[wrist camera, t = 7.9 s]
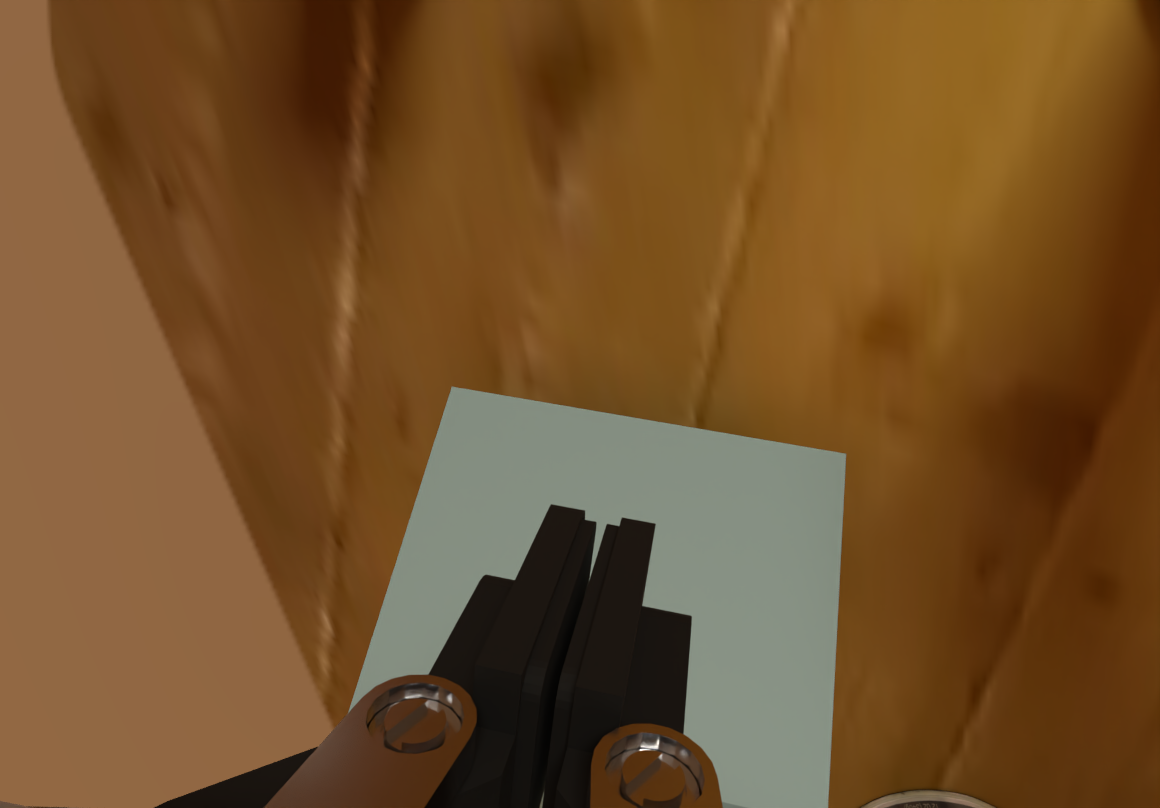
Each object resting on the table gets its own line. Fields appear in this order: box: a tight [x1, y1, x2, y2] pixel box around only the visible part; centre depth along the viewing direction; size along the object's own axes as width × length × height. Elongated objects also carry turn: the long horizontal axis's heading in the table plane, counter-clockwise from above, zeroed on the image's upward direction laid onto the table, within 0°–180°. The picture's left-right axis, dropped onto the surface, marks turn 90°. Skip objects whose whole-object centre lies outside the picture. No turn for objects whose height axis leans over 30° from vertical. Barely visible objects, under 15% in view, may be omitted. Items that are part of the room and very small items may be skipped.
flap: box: [348, 387, 846, 808], centre depth 26 cm, size 16×27×1 cm
